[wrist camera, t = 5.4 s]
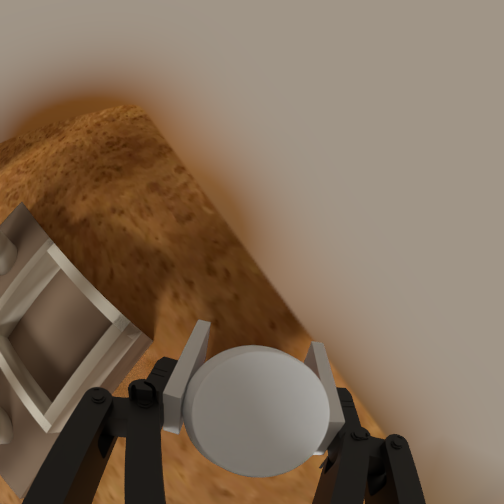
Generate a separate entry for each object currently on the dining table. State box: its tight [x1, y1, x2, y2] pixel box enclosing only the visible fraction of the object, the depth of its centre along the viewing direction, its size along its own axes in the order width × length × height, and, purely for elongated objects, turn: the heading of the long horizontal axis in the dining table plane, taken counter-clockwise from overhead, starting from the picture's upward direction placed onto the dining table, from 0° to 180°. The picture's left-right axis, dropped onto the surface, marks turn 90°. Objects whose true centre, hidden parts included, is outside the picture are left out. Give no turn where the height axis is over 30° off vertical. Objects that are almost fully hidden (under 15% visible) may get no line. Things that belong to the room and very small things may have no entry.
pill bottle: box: [182, 345, 330, 477], centre depth 12 cm, size 6×6×11 cm
